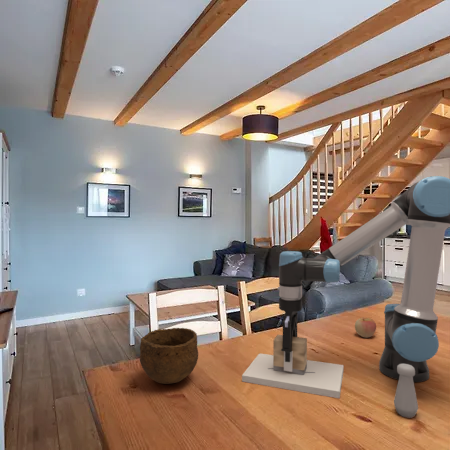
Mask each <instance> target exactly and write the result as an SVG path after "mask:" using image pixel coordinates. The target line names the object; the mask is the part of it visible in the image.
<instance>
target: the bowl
mask: <svg viewBox="0 0 450 450" xmlns="http://www.w3.org/2000/svg"><path fill="white" fill-rule="evenodd" d="M139 351H140V352H139V353H140V354H139V362H140V366H141V368H142V369H143V371H144V373H145V375H146V376H148V378H150V379H151V380H152V381H154V382H156V383H158V384H165V385H167V384H175V383H179V382H181V381H183V380H184V379H185V378H186V377H188V376H189V375H190V374H192V372H193V371H194V369H195V367H196V365H197V364H198V359H199V349H198V335H197V333H196V332H195V330H192V329H191V328H188V327H186V328H185V327H172V328H167V329H166V328H163V329H162V328H161V329H154V330H151V331H149V332H148V333H147V334H145V335H144V336H141V338H140V345H139Z"/></svg>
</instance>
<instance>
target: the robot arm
mask: <svg viewBox="0 0 450 450" xmlns="http://www.w3.org/2000/svg"><path fill="white" fill-rule="evenodd" d="M405 225H406V226H407V225H408V226H411V230H410V231H411V232H410V237H409V243H408V245H409V246H408V251H407V258H406V266H405V272H404V280H403V285H402V292H401V299H400V303H387V304H386V305H385V306H384V311H383V314H384V349H383V351H382V353H381V356H380V359H379V362H378V367H379V368H378V369H379V371H380V372H381V373H382V374H383V375H385V376H387V377H389V378H391V379H395V380H398V381H399V376H400V374H398V372H397V366H398V365H399V364H409V365H411V366H413V367H414V369H415V375H414V376H413V382H414V383H421V382H422V383H423V382H425V381H428V380H429V379H430V368H429V365H428V362H427V361H429V360H430V359H432V358H433V357H434V356H435V355H436V354H437V353H438V351H439V347H440V343H439V337H438V335H437V328H438V327H437V326H438V320H439V317H438V316H437V314H436V313H435V311H434V306H435V299H436V293H437V285H438V278H439V273H440V266H441V259H442V253H443V246H444V239H445V233H446V230H447V229H449V228H450V178H448V177H445V176H442V175H433V176H427V177H424V178H423V179H420V180H419V181H417V182H415V183H413V184H412V185H410V187H409V188H408V189H407V190H406V191H404V192H403V193H402V194H401V195H399V196H398V197H396V199H395V200H393V201H392V202H391V203H390V206H389V207H388V208H387V209H384V211H382V212H380V213H379V214H378V215H376V216H375V217H373V218H371V219H369V221H367V222H366V223H364V224H363V225H361V226H359V227H358V228H356V230H354V231H352V232H351V233H350V234H348V235H347V236H345V237H343V238H342V239H340V240H339V241H338V242H336V243H334V244H333V245H332V246H330V247H329V248H327V249H326V250H325V251H323V252H321V253H319V254H317V255H316V256H314V257H313V258H309V257H308V258H307V257H304V256H303V253H302V252H301V251H294V250H293V251H291V250H287V251H285V250H284V251H281V253H279V260H278V261H279V263H278V280H279V281H278V285H279V286H278V287H277V290H278V291H279V292H278V296H279V299H278V309H279V310H280V311H283V312H284V315H283V317H282V318H283V320H282V323H281V324H282V335H283V344H282V349H281V351H284V371H290V372H292V369H293V351H292V337H298V314H299V313H298V312H301V310H302V309H303V300H302V297H303V282H315V283H316V282H319V283H328V284H330V283H339V281H340V279H341V267H342V266H344V265H345V264H347V263H349V262H350V261H352V260H353V259H355V258H357V257H358V256H359V255H360V254H362V253H364V252H365V251H367V250H368V249H371V248H372V247H373V246H375V245H376V244H378V243H379V242H381V241H382V240H384V239H386V237H389V236H391V234H392V233H395V232H396V231H398V230H399V229H401V228H403V227H404V226H405Z"/></svg>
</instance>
